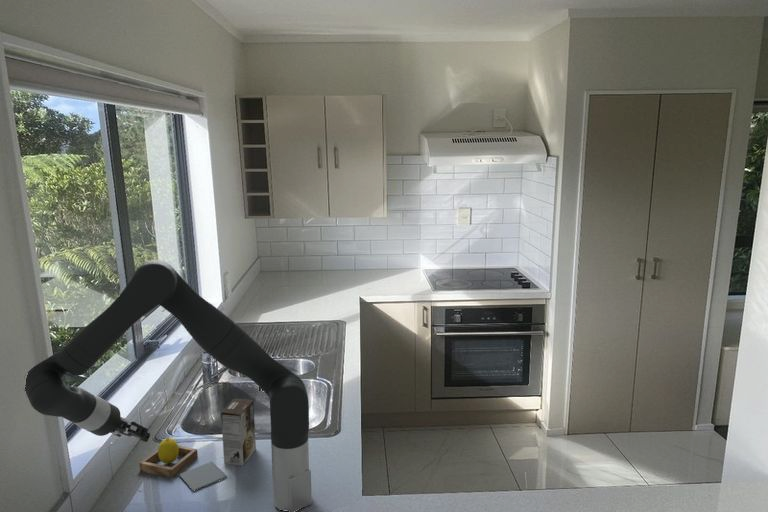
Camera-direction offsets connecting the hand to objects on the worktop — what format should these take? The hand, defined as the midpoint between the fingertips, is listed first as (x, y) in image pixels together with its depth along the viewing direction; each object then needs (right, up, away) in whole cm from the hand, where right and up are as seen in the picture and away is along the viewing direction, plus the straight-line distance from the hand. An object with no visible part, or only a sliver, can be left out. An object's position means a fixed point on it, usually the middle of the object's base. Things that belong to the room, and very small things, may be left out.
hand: (134, 435), depth 141 cm
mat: (+15, -14, +8) cm, 22 cm away
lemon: (+4, -13, +14) cm, 19 cm away
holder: (+4, -13, +14) cm, 19 cm away
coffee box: (+23, -12, +18) cm, 32 cm away
